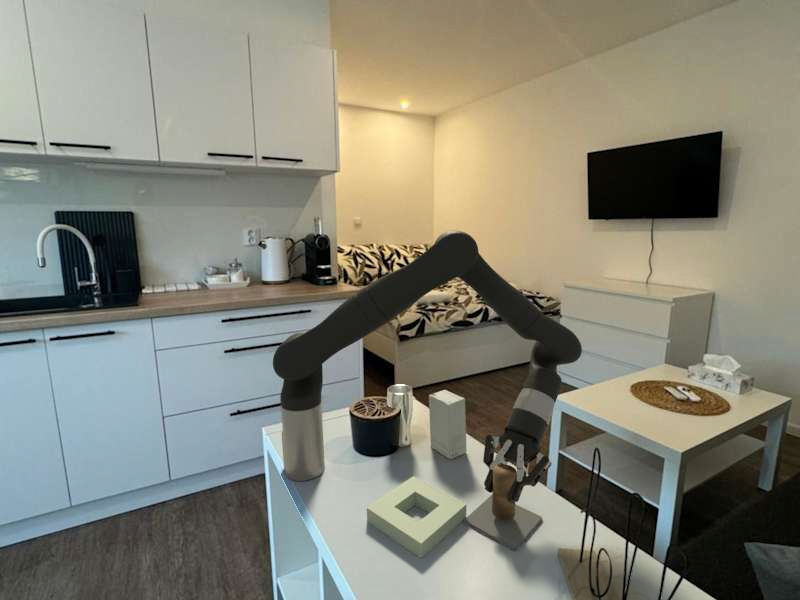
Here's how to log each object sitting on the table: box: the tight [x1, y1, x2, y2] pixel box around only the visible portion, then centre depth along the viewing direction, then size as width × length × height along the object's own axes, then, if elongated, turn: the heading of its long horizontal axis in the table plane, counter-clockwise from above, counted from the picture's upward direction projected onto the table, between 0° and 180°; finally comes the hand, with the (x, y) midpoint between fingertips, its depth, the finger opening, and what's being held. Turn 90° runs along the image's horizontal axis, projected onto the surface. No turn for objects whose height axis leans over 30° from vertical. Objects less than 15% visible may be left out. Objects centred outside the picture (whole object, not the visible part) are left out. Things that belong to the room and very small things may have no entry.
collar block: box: [366, 475, 467, 559], centre depth 83 cm, size 14×14×3 cm
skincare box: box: [428, 389, 467, 460], centre depth 108 cm, size 8×6×15 cm
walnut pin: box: [491, 464, 517, 520], centre depth 82 cm, size 4×4×9 cm
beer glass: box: [386, 384, 414, 448], centre depth 112 cm, size 7×7×15 cm
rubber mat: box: [463, 494, 543, 552], centre depth 83 cm, size 11×11×1 cm
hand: (499, 496), depth 80 cm, fingers closed on walnut pin, 4 cm apart
